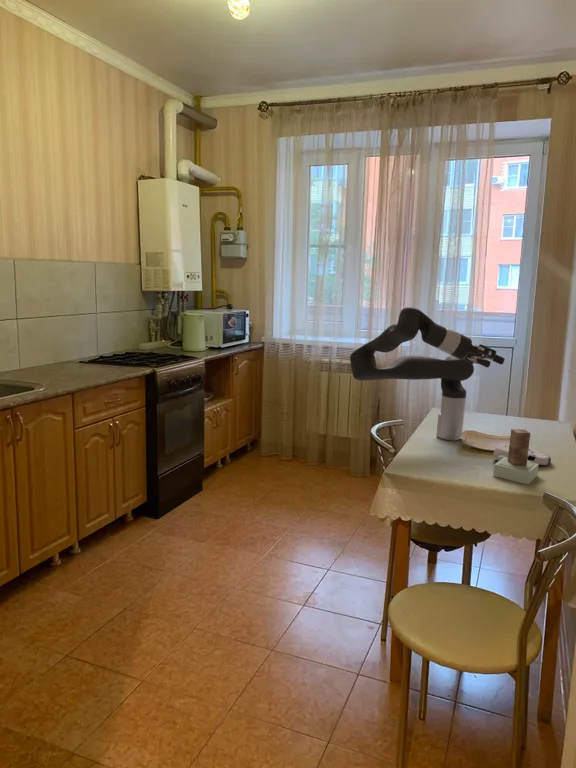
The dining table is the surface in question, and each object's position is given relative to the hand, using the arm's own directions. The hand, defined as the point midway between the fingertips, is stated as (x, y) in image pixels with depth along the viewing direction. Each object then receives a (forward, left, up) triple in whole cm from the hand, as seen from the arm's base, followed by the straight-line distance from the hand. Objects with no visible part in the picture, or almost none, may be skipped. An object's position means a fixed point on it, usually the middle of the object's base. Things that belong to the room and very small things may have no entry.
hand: (496, 363), depth 187 cm
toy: (+7, +17, -37) cm, 41 cm away
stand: (+10, -1, -36) cm, 38 cm away
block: (+10, -1, -32) cm, 34 cm away
